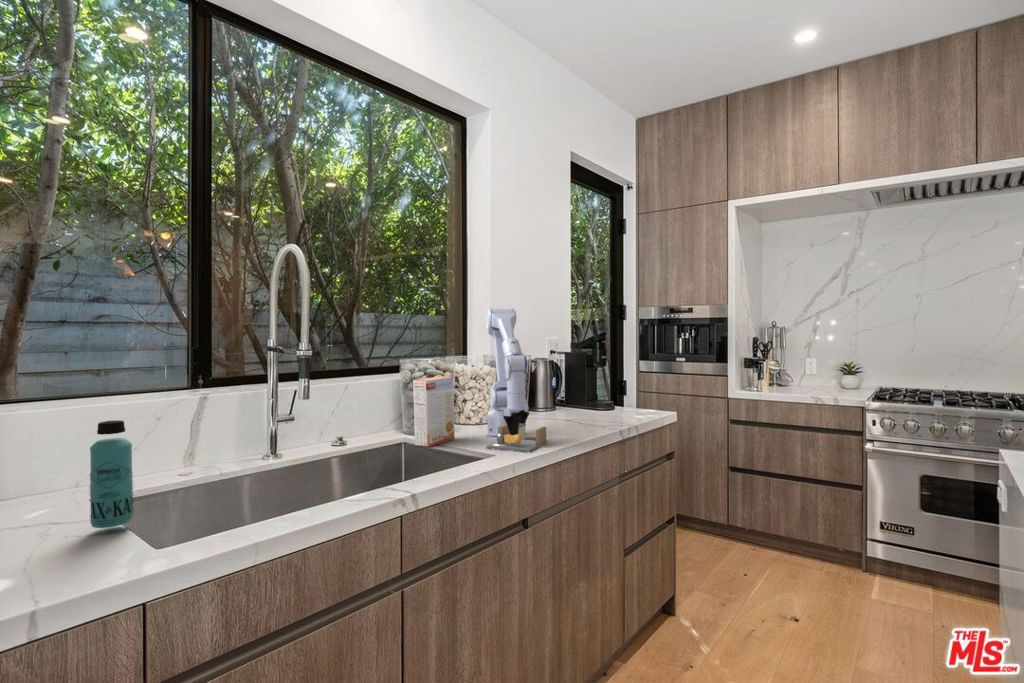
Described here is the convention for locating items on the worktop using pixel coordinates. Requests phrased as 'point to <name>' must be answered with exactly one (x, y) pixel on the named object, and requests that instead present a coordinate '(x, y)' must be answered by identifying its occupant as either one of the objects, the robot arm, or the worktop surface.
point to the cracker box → (433, 410)
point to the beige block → (522, 431)
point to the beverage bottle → (111, 478)
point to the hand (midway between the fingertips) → (516, 435)
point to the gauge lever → (512, 438)
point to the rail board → (526, 444)
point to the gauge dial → (500, 441)
